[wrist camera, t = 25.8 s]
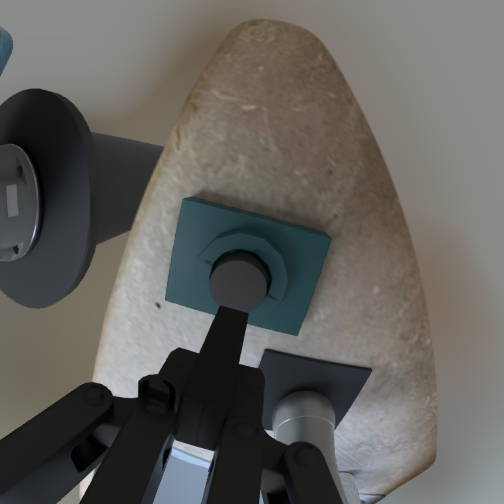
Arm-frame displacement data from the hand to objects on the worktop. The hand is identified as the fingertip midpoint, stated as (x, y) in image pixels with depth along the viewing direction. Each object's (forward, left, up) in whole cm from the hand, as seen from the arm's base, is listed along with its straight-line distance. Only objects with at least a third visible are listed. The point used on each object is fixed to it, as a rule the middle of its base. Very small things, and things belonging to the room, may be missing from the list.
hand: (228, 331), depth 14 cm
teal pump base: (0, 0, -11) cm, 11 cm away
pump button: (0, 0, -8) cm, 8 cm away
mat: (+10, -14, -11) cm, 20 cm away
